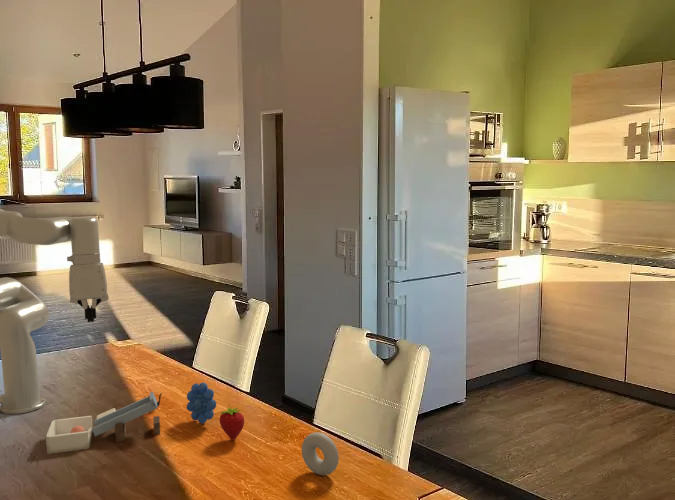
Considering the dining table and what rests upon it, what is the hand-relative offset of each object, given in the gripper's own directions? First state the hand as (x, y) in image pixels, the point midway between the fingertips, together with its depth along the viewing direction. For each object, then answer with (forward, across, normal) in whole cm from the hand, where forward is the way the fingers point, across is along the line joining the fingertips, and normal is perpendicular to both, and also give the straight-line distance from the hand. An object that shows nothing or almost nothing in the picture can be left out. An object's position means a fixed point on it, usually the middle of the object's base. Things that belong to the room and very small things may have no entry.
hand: (91, 321), depth 192 cm
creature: (+27, +14, -6) cm, 32 cm away
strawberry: (+27, +36, -36) cm, 58 cm away
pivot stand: (+27, +8, -23) cm, 36 cm away
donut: (+27, +53, -62) cm, 86 cm away
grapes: (+27, +30, -21) cm, 46 cm away
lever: (+23, +10, -20) cm, 32 cm away
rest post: (+27, +17, -23) cm, 39 cm away
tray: (+27, -5, -23) cm, 36 cm away
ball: (+25, -3, -23) cm, 34 cm away
